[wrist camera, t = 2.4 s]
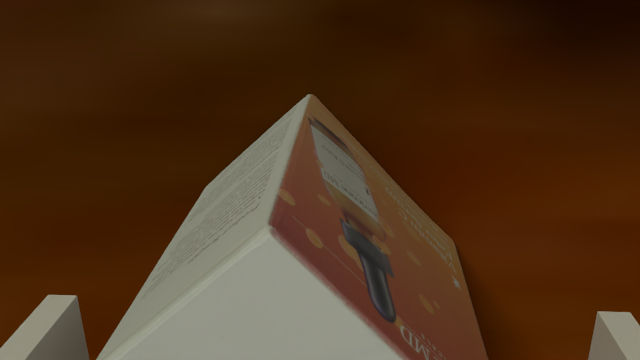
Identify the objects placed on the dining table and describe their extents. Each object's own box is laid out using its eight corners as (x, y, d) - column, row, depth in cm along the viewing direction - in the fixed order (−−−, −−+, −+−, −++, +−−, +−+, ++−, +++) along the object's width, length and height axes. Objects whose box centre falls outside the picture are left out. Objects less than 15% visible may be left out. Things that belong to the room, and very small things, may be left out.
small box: (456, 241, 22) (532, 476, 13) (345, 321, 24) (337, 584, 14) (310, 85, 20) (268, 221, 11) (201, 184, 22) (79, 380, 12)
